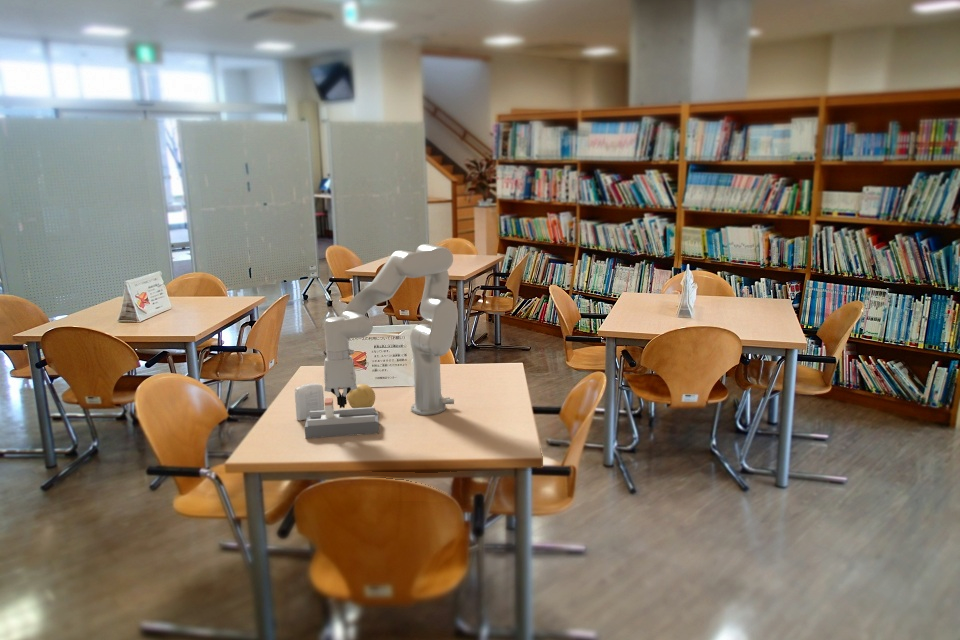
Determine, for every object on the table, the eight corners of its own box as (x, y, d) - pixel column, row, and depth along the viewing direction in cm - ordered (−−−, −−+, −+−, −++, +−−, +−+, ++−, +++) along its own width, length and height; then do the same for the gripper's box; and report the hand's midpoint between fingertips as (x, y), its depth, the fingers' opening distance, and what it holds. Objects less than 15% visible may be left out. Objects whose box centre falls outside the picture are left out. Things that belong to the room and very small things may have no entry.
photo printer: (322, 412, 263) (319, 379, 260) (326, 415, 260) (324, 382, 257) (294, 418, 258) (292, 385, 255) (299, 422, 254) (296, 388, 251)
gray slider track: (378, 422, 252) (377, 406, 251) (378, 433, 242) (377, 416, 241) (308, 427, 249) (307, 410, 247) (305, 438, 239) (304, 421, 238)
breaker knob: (339, 415, 247) (338, 396, 246) (338, 422, 242) (337, 402, 240) (321, 416, 247) (320, 397, 245) (320, 423, 241) (318, 403, 239)
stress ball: (365, 407, 270) (343, 392, 267) (381, 389, 267) (359, 374, 264) (363, 421, 261) (340, 406, 258) (379, 402, 258) (356, 387, 255)
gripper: (361, 349, 244) (365, 401, 248) (316, 352, 242) (320, 404, 247) (360, 356, 237) (364, 408, 241) (314, 359, 235) (318, 412, 239)
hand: (342, 406), depth 244 cm, fingers closed
